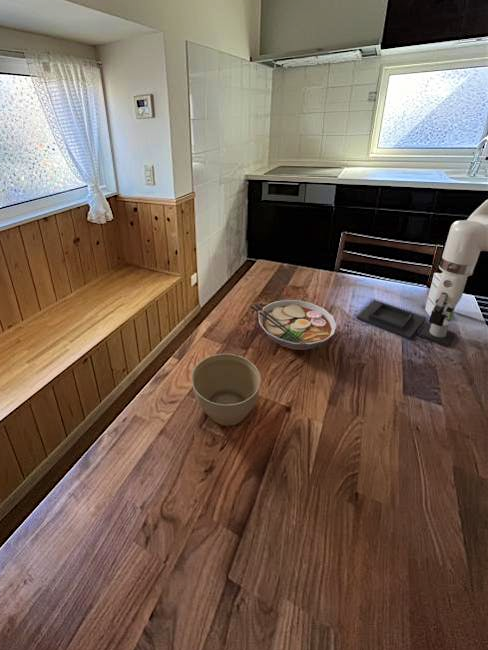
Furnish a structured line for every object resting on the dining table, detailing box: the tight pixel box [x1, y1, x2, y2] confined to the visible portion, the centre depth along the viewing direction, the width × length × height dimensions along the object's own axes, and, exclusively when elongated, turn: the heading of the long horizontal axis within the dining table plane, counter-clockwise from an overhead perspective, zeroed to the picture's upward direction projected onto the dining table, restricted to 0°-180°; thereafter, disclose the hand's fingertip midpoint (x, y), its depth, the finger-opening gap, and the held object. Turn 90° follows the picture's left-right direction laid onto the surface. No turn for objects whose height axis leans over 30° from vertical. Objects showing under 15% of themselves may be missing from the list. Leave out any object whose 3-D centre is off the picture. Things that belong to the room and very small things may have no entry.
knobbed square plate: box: [419, 319, 455, 348], centre depth 101 cm, size 7×7×6 cm
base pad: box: [356, 299, 426, 341], centre depth 111 cm, size 16×14×2 cm
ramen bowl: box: [250, 299, 337, 351], centre depth 104 cm, size 25×23×8 cm
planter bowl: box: [190, 353, 262, 427], centre depth 81 cm, size 16×16×11 cm
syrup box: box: [424, 272, 456, 321], centre depth 109 cm, size 6×6×14 cm
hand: (440, 317), depth 99 cm, fingers open, 9 cm apart
